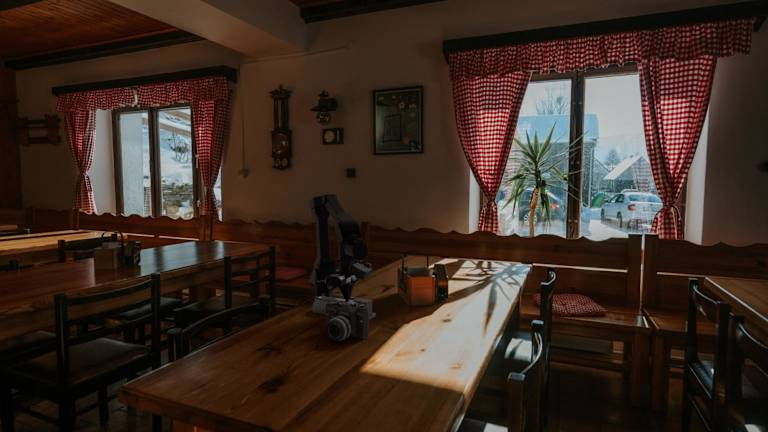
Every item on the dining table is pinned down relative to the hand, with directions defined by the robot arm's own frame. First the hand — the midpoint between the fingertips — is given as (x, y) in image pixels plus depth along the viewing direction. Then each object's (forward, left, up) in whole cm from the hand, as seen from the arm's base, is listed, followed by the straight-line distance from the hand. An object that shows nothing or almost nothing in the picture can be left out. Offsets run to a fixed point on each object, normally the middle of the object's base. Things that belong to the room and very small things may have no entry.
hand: (347, 300), depth 156 cm
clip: (+6, 0, -3) cm, 7 cm away
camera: (+11, -21, -5) cm, 24 cm away
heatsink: (-5, 0, -5) cm, 7 cm away
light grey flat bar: (-4, 0, -1) cm, 4 cm away
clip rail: (+6, 0, -5) cm, 7 cm away
